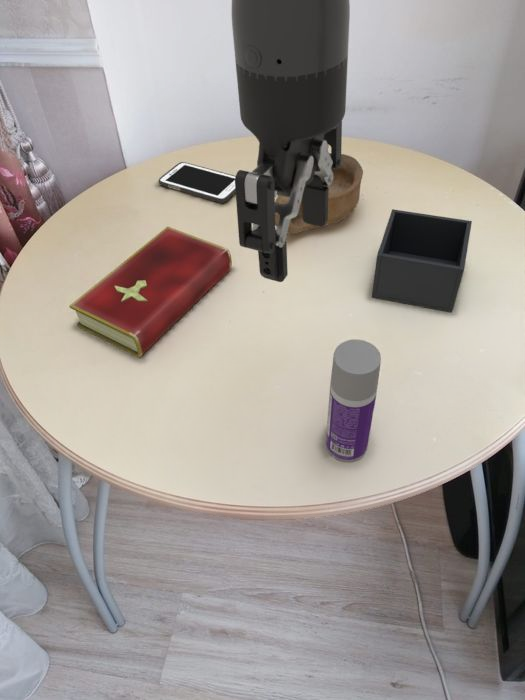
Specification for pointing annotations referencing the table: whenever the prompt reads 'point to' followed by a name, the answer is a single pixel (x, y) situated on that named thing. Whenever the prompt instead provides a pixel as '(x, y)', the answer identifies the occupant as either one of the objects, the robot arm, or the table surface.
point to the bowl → (333, 195)
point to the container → (352, 399)
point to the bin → (421, 260)
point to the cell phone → (200, 182)
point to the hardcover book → (151, 290)
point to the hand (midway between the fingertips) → (295, 248)
